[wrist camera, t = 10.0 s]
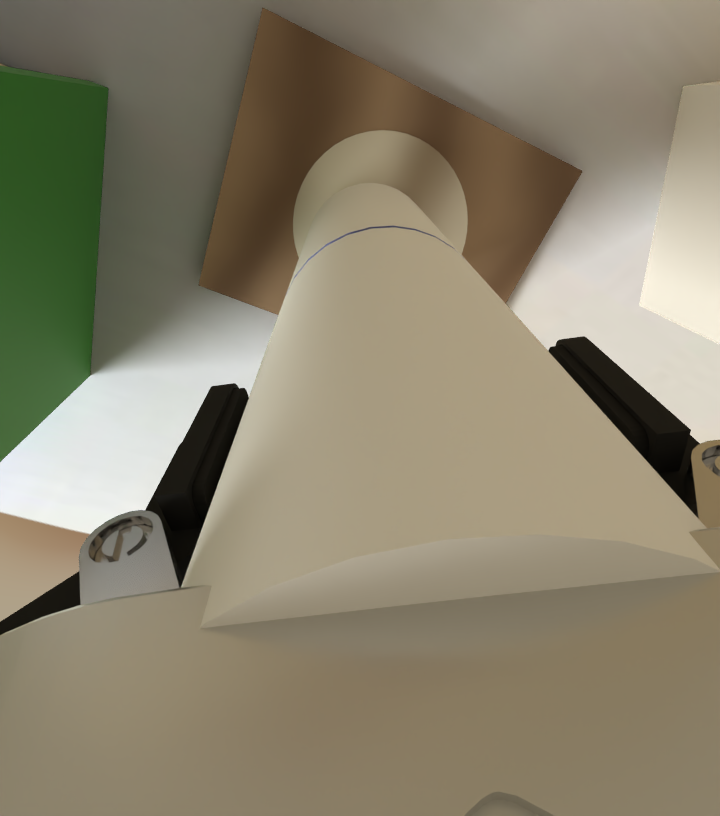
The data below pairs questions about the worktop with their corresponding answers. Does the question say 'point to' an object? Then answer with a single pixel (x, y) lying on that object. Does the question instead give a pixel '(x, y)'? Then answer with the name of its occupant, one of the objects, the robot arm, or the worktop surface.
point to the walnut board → (366, 167)
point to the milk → (689, 220)
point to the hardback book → (47, 241)
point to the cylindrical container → (419, 444)
